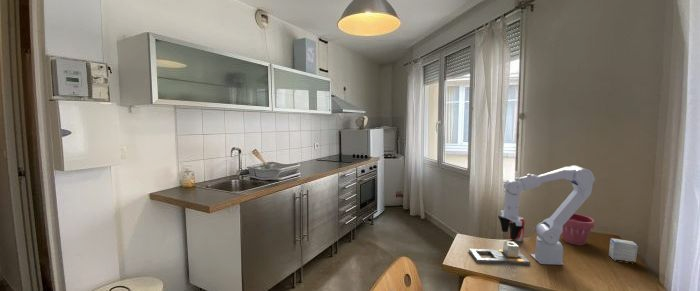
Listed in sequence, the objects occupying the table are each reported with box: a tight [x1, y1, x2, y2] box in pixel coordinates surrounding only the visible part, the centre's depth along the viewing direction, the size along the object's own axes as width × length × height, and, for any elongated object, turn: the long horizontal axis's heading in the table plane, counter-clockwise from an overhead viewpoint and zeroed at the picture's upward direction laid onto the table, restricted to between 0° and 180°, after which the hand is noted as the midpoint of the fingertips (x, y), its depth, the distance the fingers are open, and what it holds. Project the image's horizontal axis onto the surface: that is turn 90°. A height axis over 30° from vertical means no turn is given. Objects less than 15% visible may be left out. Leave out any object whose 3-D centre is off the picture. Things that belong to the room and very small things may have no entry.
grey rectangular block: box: [502, 241, 520, 259], centre depth 125 cm, size 4×4×7 cm
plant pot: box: [561, 212, 595, 246], centre depth 143 cm, size 14×14×13 cm
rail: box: [468, 248, 531, 266], centre depth 125 cm, size 22×10×2 cm, turn 87°
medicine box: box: [608, 237, 639, 262], centre depth 125 cm, size 8×4×9 cm, turn 65°
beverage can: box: [508, 215, 526, 243], centre depth 144 cm, size 6×6×12 cm
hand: (509, 235), depth 128 cm, fingers open, 7 cm apart
